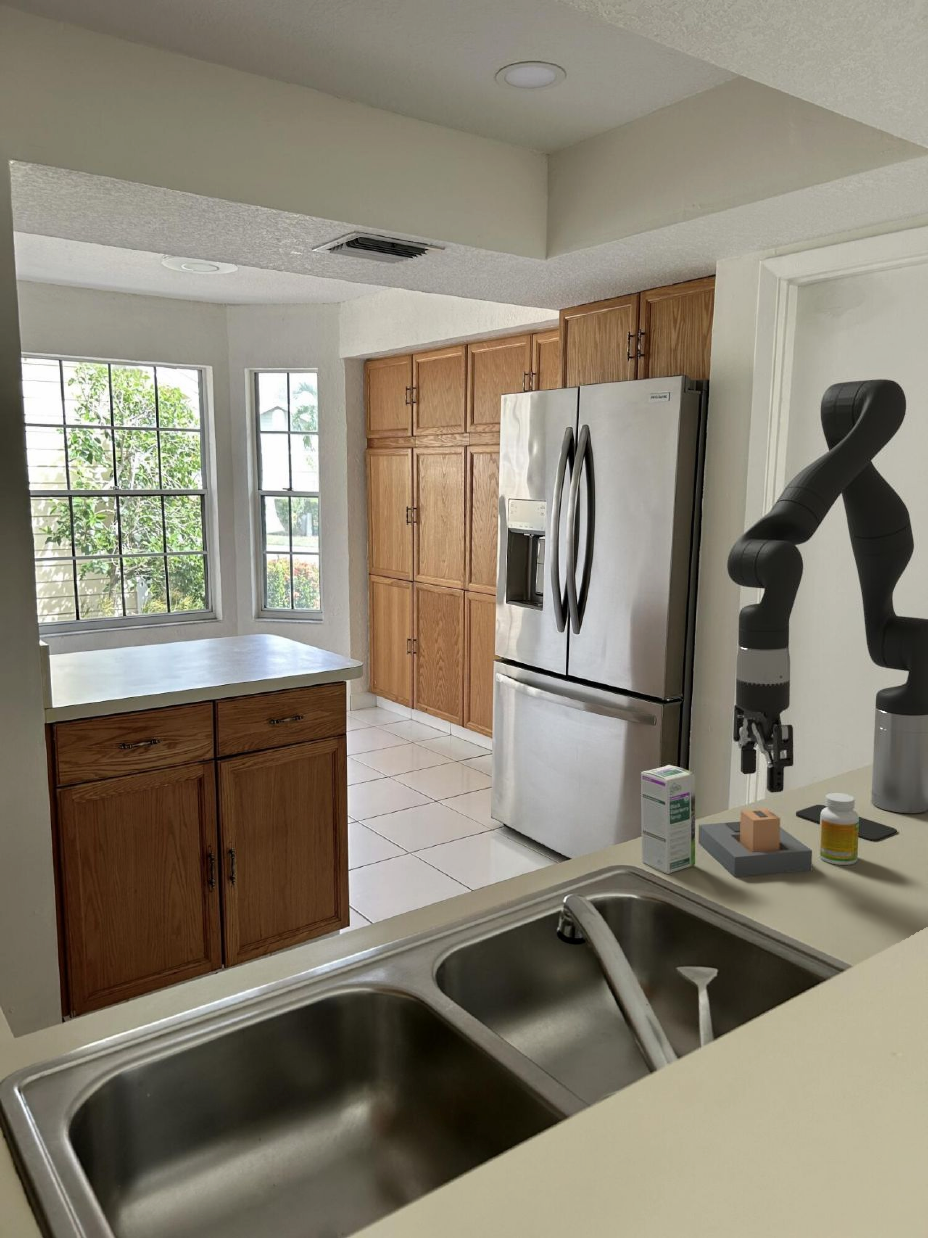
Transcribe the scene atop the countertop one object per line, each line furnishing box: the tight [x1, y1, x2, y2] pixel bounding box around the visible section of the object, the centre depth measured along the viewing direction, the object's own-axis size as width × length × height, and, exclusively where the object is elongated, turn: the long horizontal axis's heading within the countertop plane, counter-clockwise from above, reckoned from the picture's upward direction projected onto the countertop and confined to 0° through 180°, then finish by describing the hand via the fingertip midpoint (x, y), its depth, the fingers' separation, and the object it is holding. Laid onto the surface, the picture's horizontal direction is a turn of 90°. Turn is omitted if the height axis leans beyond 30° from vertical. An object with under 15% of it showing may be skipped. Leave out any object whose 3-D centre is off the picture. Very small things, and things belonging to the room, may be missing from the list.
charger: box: [739, 808, 781, 853], centre depth 137 cm, size 4×4×7 cm
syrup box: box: [640, 764, 696, 875], centre depth 136 cm, size 6×6×14 cm
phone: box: [795, 804, 898, 842], centre depth 152 cm, size 7×1×15 cm
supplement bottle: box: [818, 792, 860, 866], centre depth 137 cm, size 5×5×10 cm
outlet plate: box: [697, 821, 813, 878], centre depth 139 cm, size 12×13×3 cm
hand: (761, 782), depth 136 cm, fingers open, 8 cm apart
